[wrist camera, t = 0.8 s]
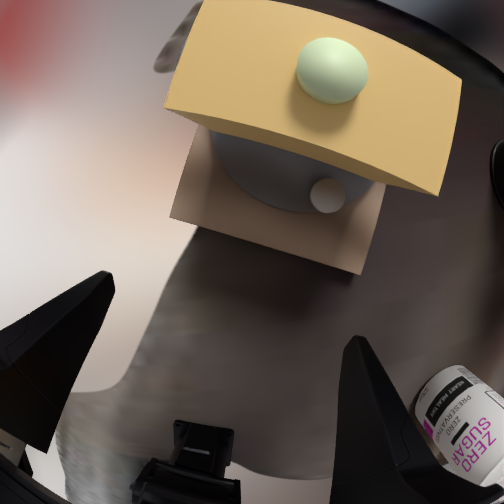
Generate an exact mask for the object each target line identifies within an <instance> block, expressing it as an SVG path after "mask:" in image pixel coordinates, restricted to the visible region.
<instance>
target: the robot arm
mask: <svg viewBox="0 0 504 504" xmlns="http://www.w3.org/2000/svg"><path fill="white" fill-rule="evenodd" d="M114 294H115V285H114V280H113V276H112V274H111V273H110V272H107V271H100V272H98V273H96V274H94V275H93V276H91V277H89V278H87V279H85V280H84V281H82V282H80V283H79V284H77V285H75V286H73V287H72V288H70V289H68V290H67V291H65V292H63V293H62V294H60V295H58V296H57V297H55V298H53V299H52V300H50V301H48V302H47V303H45V304H44V305H42V306H40V307H39V308H37V309H35V310H34V311H32V312H31V313H30V314H27V315H26V316H24V317H23V318H21V319H19V320H18V321H16V322H15V323H13V324H11V325H9V326H7V327H6V328H4V329H2V330H0V504H72V503H70V502H68V501H67V500H65V499H63V498H61V497H60V496H58V495H57V494H55V493H54V492H52V491H50V490H49V489H47V488H46V487H44V486H43V485H41V484H40V483H38V482H37V481H35V480H34V479H33V478H32V475H33V471H32V468H31V465H30V463H29V460H28V457H27V454H26V451H25V447H26V445H27V444H28V445H30V446H32V447H34V448H36V449H38V450H40V451H42V452H44V453H46V454H47V452H48V449H49V446H50V443H51V441H52V438H53V435H54V432H55V429H56V427H57V424H58V421H59V419H60V416H61V414H62V413H61V412H62V411H63V408H64V406H65V403H66V401H67V399H68V396H69V394H70V392H71V389H72V387H73V384H74V382H75V380H76V378H77V375H78V373H79V371H80V369H81V367H82V365H83V362H84V361H85V358H86V356H87V354H88V352H89V350H90V348H91V346H92V344H93V342H94V340H95V338H96V336H97V334H98V332H99V330H100V328H101V326H102V323H103V321H104V318H105V316H106V313H107V311H108V308H109V306H110V304H111V301H112V299H113V296H114ZM407 412H408V411H407V409H406V407H405V405H404V404H403V402H402V400H401V398H400V396H399V395H398V393H397V391H396V389H395V387H394V386H393V384H392V382H391V380H390V378H389V377H388V375H387V373H386V371H385V370H384V368H383V366H382V365H381V363H380V361H379V359H378V358H377V356H376V354H375V353H374V351H373V349H372V348H371V346H370V344H369V342H368V341H367V339H366V338H365V337H363V336H358V335H355V336H353V337H352V339H351V340H350V341H349V343H348V344H347V345H346V346H345V348H344V351H343V358H342V366H341V374H340V382H339V392H338V417H337V434H336V448H335V460H334V470H333V479H332V487H331V495H330V502H329V504H490V503H492V502H494V501H496V500H497V499H499V498H501V497H502V496H504V488H503V487H502V486H500V485H499V484H497V483H494V484H491V485H488V486H486V487H483V486H479V485H477V484H475V483H472V482H470V481H468V480H466V479H464V478H462V477H460V476H457V475H455V474H453V473H451V472H449V471H447V470H446V469H445V468H443V467H442V466H441V465H440V463H439V462H438V461H437V459H436V458H435V456H434V455H433V453H432V451H431V450H430V448H429V447H428V445H427V444H426V442H425V441H424V439H423V437H422V436H421V434H420V433H419V431H418V429H417V427H416V426H415V424H414V422H413V420H412V418H411V416H410V415H409V413H407ZM178 424H179V425H178ZM173 427H174V445H175V447H174V450H173V453H172V455H171V458H170V460H169V463H165V462H162V461H159V460H158V459H155V458H152V459H151V460H150V462H148V463H147V464H146V465H145V467H144V469H143V470H142V472H141V473H140V475H139V476H138V478H137V479H136V480H135V481H134V482H133V483H132V484H131V485H130V491H131V492H132V504H241V488H240V480H236V479H235V480H232V479H227V478H224V474H225V468H226V466H229V465H230V462H231V454H232V446H233V438H234V431H233V430H232V429H227V428H220V427H214V426H208V425H202V424H196V423H191V422H186V421H181V420H175V421H174V424H173ZM229 433H231V434H229ZM494 504H504V500H502V501H500V502H497V503H494Z"/></svg>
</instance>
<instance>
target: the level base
mask: <svg viewBox="0 0 504 504" xmlns="http://www.w3.org/2000/svg"><path fill="white" fill-rule="evenodd" d="M385 187H386V184H384V183H379V182H375V181H372V180H369V179H367V178H364V177H362V176H359V175H357V174H354V173H352V172H349V171H346V170H344V169H341V168H338V167H335V166H332V165H330V164H327V163H324V162H321V161H318V160H315V159H312V158H309V157H306V156H303V155H300V154H297V153H294V152H290V151H287V150H284V149H280V148H277V147H274V146H270V145H267V144H263V143H259V142H256V141H252V140H248V139H244V138H241V137H237V136H232V135H228V134H224V133H220V132H216V131H212V130H210V129H208V128H206V127H204V126H202V125H200V124H199V125H198V128H197V131H196V134H195V137H194V139H193V142H192V145H191V148H190V151H189V154H188V157H187V160H186V163H185V166H184V170H183V173H182V176H181V179H180V183H179V186H178V189H177V192H176V196H175V199H174V203H173V206H172V210H171V213H170V218H173V219H177V220H180V221H183V222H187V223H190V224H194V225H197V226H200V227H204V228H207V229H211V230H214V231H217V232H221V233H224V234H227V235H231V236H234V237H237V238H241V239H244V240H247V241H251V242H254V243H257V244H261V245H264V246H267V247H271V248H274V249H277V250H280V251H284V252H287V253H290V254H294V255H297V256H300V257H303V258H307V259H310V260H313V261H316V262H320V263H323V264H326V265H329V266H333V267H336V268H339V269H342V270H346V271H349V272H352V273H355V274H358V275H361V272H362V269H363V266H364V263H365V260H366V256H367V253H368V250H369V247H370V243H371V240H372V237H373V233H374V230H375V226H376V222H377V219H378V215H379V211H380V207H381V203H382V199H383V195H384V191H385Z"/></svg>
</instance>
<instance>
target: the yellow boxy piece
mask: <svg viewBox="0 0 504 504" xmlns="http://www.w3.org/2000/svg"><path fill="white" fill-rule="evenodd" d="M461 83H462V80H461V79H460V78H458V77H457V76H455V75H454V74H452V73H451V72H449V71H448V70H446V69H445V68H443V67H441V66H440V65H438V64H437V63H435V62H433V61H432V60H430V59H428V58H426V57H425V56H423V55H421V54H419V53H417V52H416V51H414V50H412V49H410V48H408V47H406V46H404V45H402V44H400V43H398V42H396V41H394V40H392V39H390V38H387V37H385V36H383V35H381V34H378V33H376V32H374V31H371V30H369V29H366V28H364V27H361V26H359V25H356V24H353V23H351V22H348V21H345V20H342V19H339V18H336V17H333V16H330V15H327V14H323V13H320V12H317V11H313V10H309V9H305V8H301V7H297V6H293V5H289V4H284V3H279V2H274V1H268V0H204V2H203V4H202V6H201V9H200V11H199V13H198V15H197V17H196V20H195V22H194V24H193V27H192V29H191V31H190V34H189V36H188V38H187V39H186V41H185V42H184V44H183V46H182V48H181V50H180V53H179V57H178V61H177V68H176V71H175V74H174V77H173V80H172V83H171V86H170V89H169V92H168V95H167V98H166V101H165V105H164V108H165V109H167V110H170V111H172V112H174V113H176V114H179V115H181V116H183V117H185V118H187V119H190V120H192V121H194V122H196V123H198V124H200V125H202V126H204V127H206V128H208V129H210V130H212V131H216V132H220V133H224V134H228V135H232V136H237V137H241V138H244V139H248V140H252V141H256V142H259V143H263V144H267V145H270V146H274V147H277V148H280V149H284V150H287V151H290V152H294V153H297V154H300V155H303V156H306V157H309V158H312V159H315V160H318V161H321V162H324V163H327V164H330V165H332V166H335V167H338V168H341V169H344V170H346V171H349V172H352V173H354V174H357V175H359V176H362V177H364V178H367V179H369V180H372V181H375V182H379V183H384V184H389V185H393V186H398V187H402V188H407V189H411V190H415V191H419V192H423V193H427V194H431V195H435V196H438V194H439V191H440V187H441V184H442V180H443V177H444V173H445V169H446V165H447V161H448V157H449V153H450V149H451V144H452V140H453V135H454V130H455V124H456V119H457V113H458V107H459V100H460V92H461Z"/></svg>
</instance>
